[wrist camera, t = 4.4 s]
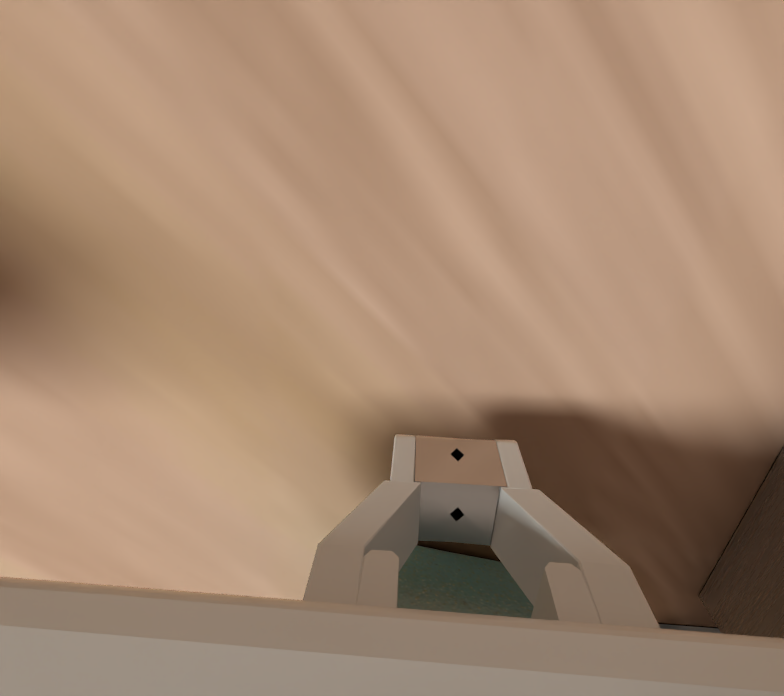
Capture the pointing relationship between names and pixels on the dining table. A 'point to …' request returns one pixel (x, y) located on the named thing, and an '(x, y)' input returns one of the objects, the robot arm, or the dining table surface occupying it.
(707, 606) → the socket block
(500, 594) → the flower pot
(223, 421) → the dining table surface
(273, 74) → the dining table surface
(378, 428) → the dining table surface
